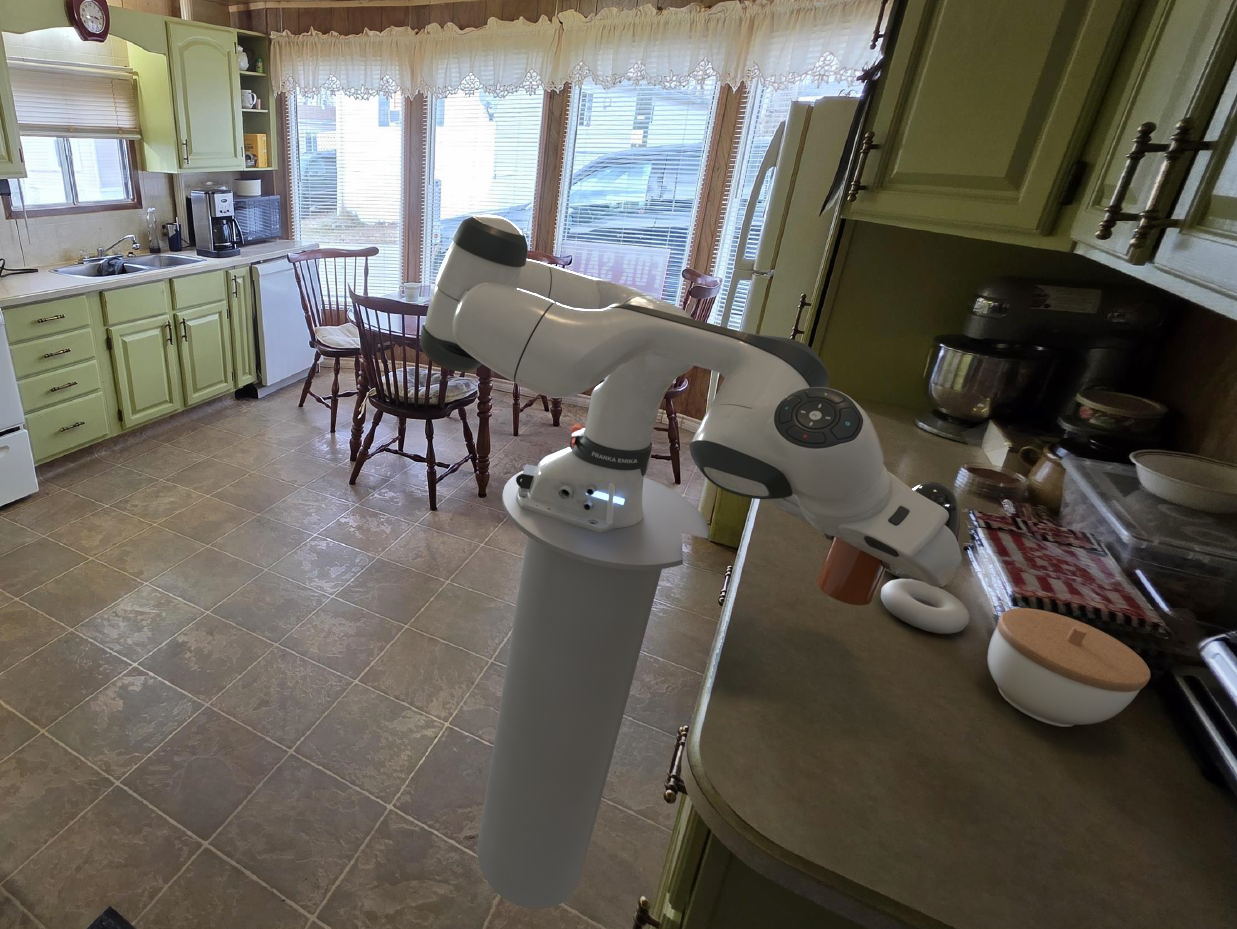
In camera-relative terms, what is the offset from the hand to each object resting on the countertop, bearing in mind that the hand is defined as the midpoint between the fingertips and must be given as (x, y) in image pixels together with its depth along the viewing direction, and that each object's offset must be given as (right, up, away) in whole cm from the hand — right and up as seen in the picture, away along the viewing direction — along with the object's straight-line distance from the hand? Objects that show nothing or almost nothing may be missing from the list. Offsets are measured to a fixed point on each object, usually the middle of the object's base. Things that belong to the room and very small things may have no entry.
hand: (863, 550), depth 83 cm
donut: (+16, -11, +12) cm, 23 cm away
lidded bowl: (+19, -18, -3) cm, 26 cm away
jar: (-1, -5, +2) cm, 6 cm away
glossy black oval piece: (+22, -7, +22) cm, 32 cm away
